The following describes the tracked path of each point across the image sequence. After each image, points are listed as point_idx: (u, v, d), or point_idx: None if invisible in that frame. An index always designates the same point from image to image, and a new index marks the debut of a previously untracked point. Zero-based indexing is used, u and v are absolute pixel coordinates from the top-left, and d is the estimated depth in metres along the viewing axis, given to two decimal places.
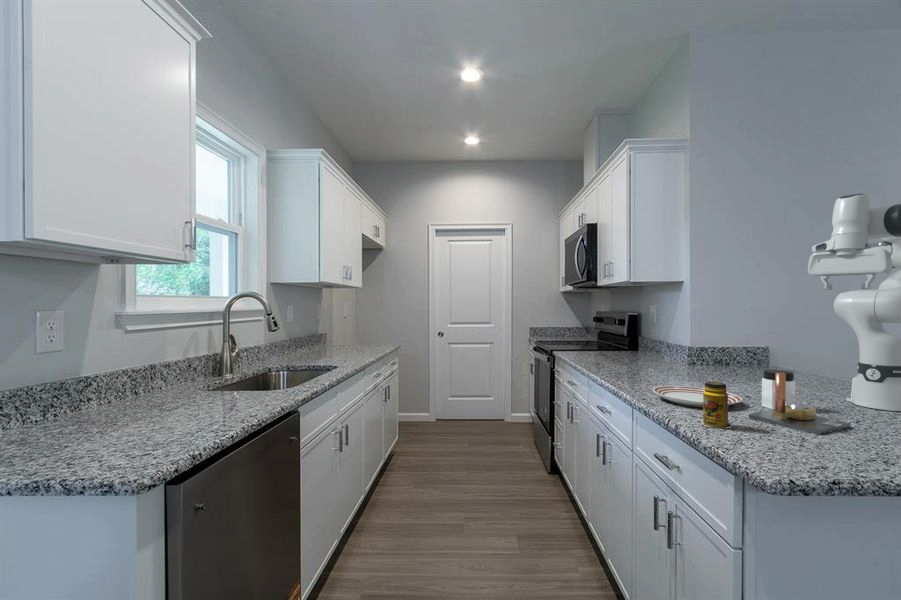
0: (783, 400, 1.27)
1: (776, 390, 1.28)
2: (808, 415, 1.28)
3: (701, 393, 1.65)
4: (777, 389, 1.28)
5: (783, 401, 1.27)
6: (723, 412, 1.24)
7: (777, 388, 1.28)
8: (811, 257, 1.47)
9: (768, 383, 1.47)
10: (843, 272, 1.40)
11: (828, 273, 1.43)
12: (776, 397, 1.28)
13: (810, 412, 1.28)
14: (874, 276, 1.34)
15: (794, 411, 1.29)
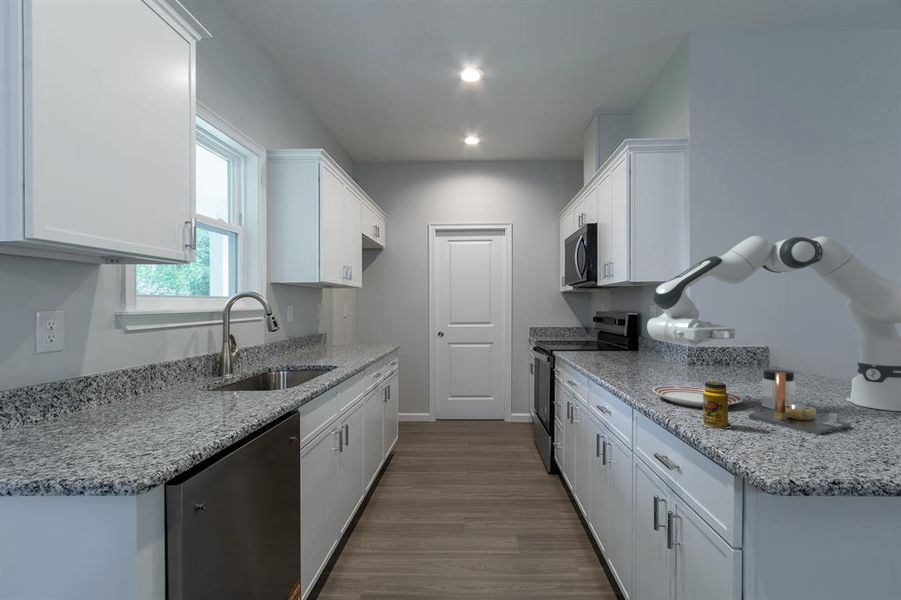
0: (783, 400, 1.27)
1: (776, 390, 1.28)
2: (808, 415, 1.28)
3: (701, 393, 1.65)
4: (777, 389, 1.28)
5: (783, 401, 1.27)
6: (723, 412, 1.24)
7: (777, 388, 1.28)
8: None
9: (768, 383, 1.47)
10: None
11: (724, 338, 1.47)
12: (776, 397, 1.28)
13: (810, 412, 1.28)
14: (714, 333, 1.43)
15: (794, 411, 1.29)
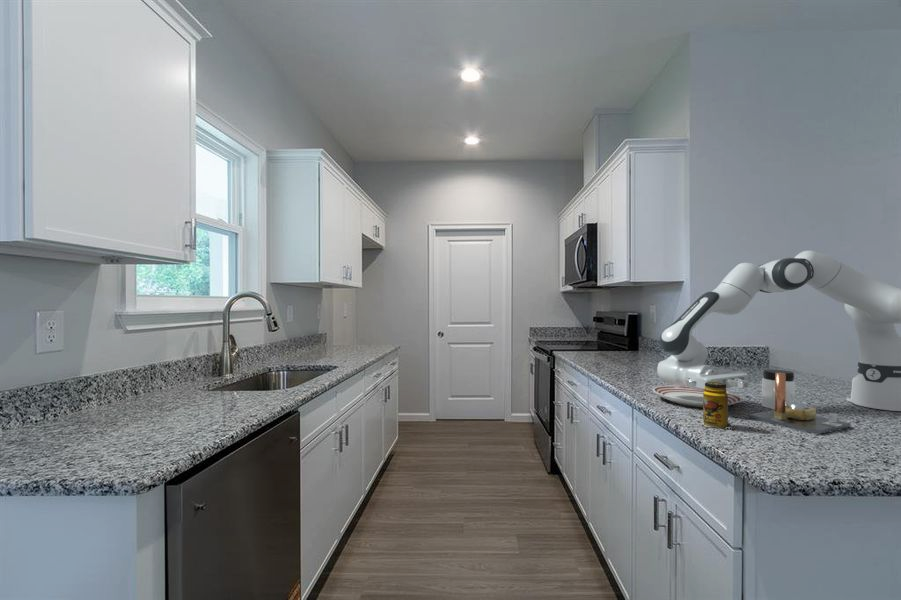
0: (783, 400, 1.27)
1: (776, 390, 1.28)
2: (808, 415, 1.28)
3: (701, 393, 1.65)
4: (777, 389, 1.28)
5: (783, 401, 1.27)
6: (723, 412, 1.24)
7: (777, 388, 1.28)
8: None
9: (768, 383, 1.47)
10: (729, 387, 1.42)
11: None
12: (776, 397, 1.28)
13: (810, 412, 1.28)
14: (728, 382, 1.39)
15: (794, 411, 1.29)
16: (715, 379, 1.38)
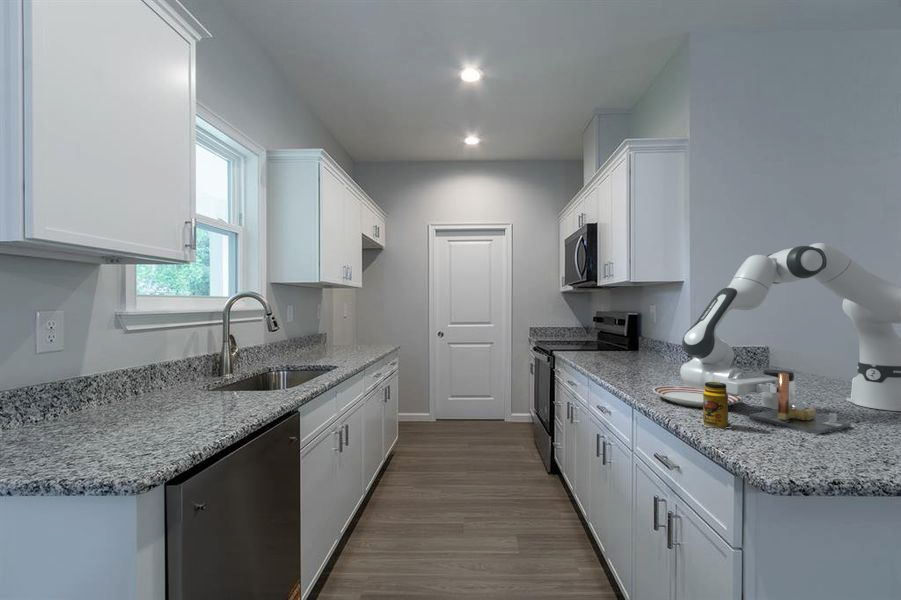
0: (787, 400, 1.26)
1: (780, 391, 1.27)
2: (809, 415, 1.28)
3: (701, 393, 1.65)
4: (781, 390, 1.27)
5: (787, 402, 1.26)
6: (723, 412, 1.24)
7: (781, 389, 1.27)
8: None
9: None
10: (760, 392, 1.33)
11: None
12: (779, 398, 1.27)
13: (811, 412, 1.28)
14: (759, 387, 1.31)
15: (796, 411, 1.29)
16: (746, 383, 1.30)
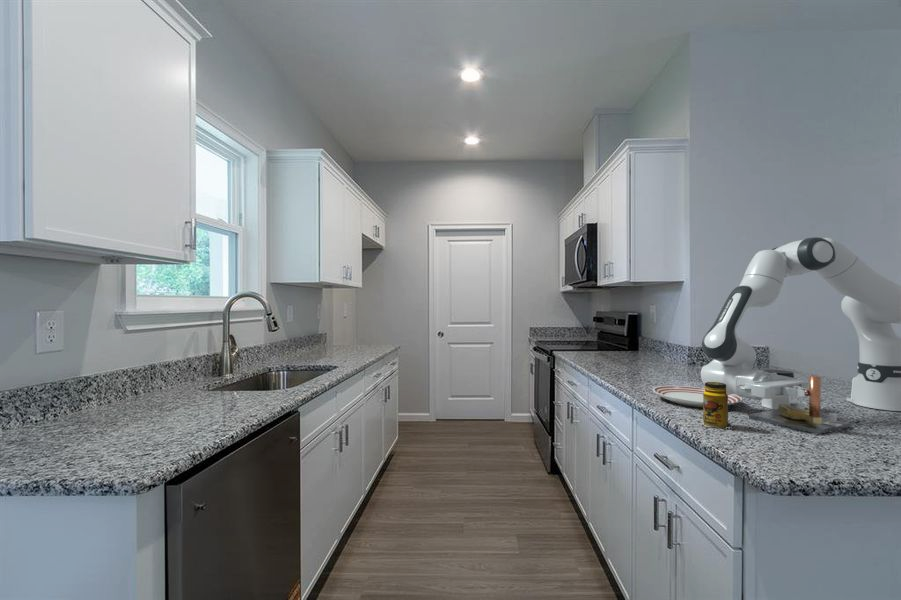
0: None
1: (816, 394, 1.22)
2: None
3: (701, 393, 1.65)
4: (817, 393, 1.22)
5: None
6: (723, 412, 1.24)
7: (817, 392, 1.22)
8: None
9: None
10: (787, 395, 1.29)
11: None
12: (815, 402, 1.22)
13: None
14: (786, 390, 1.26)
15: (809, 412, 1.28)
16: (773, 387, 1.25)
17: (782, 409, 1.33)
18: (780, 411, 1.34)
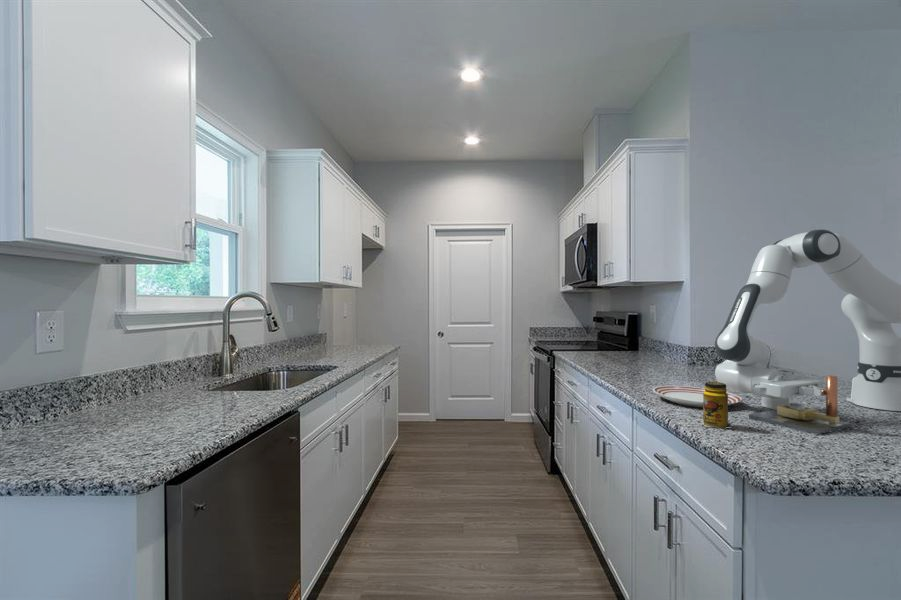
0: None
1: (836, 394, 1.23)
2: None
3: (701, 393, 1.65)
4: (836, 393, 1.23)
5: None
6: (723, 412, 1.24)
7: (836, 392, 1.23)
8: None
9: None
10: None
11: None
12: (835, 401, 1.23)
13: None
14: (802, 389, 1.27)
15: (814, 411, 1.29)
16: (789, 386, 1.26)
17: (789, 411, 1.30)
18: (784, 413, 1.31)
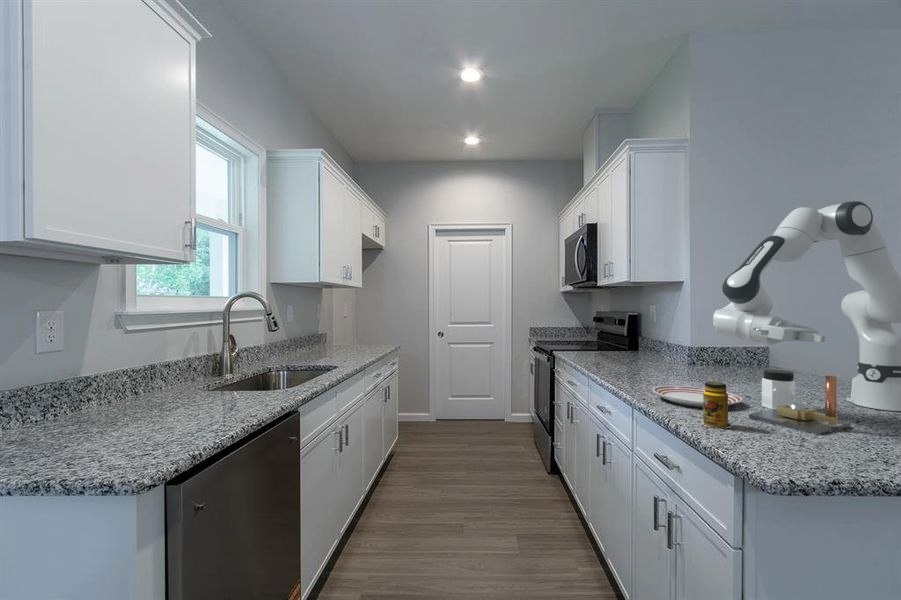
0: None
1: (835, 394, 1.23)
2: None
3: (701, 393, 1.65)
4: (835, 393, 1.23)
5: None
6: (723, 412, 1.24)
7: (835, 392, 1.23)
8: None
9: (768, 383, 1.47)
10: None
11: (807, 341, 1.31)
12: (834, 401, 1.23)
13: None
14: (802, 335, 1.27)
15: (813, 411, 1.29)
16: (792, 330, 1.25)
17: (788, 411, 1.31)
18: (783, 413, 1.32)
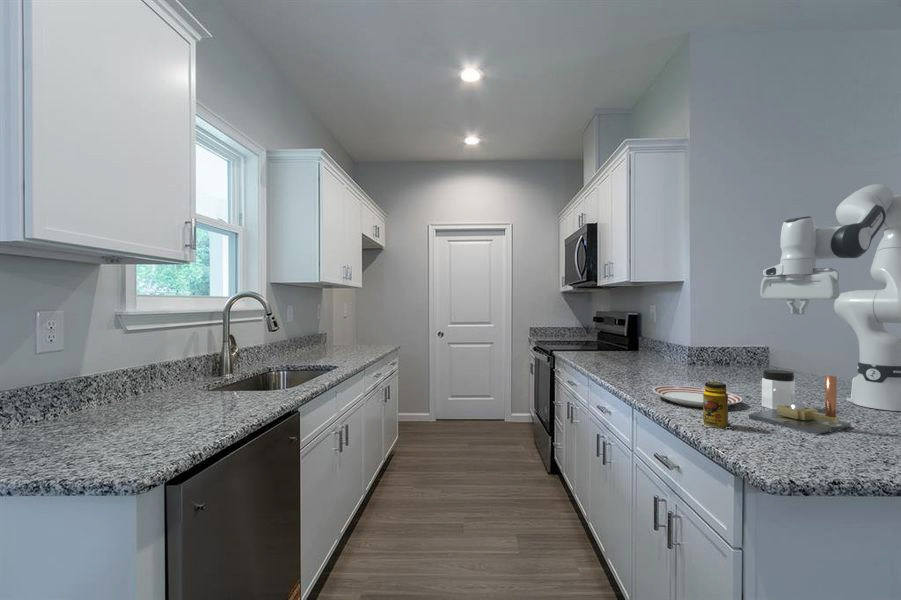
0: None
1: (835, 394, 1.23)
2: None
3: (701, 393, 1.65)
4: (835, 393, 1.23)
5: None
6: (723, 412, 1.24)
7: (835, 392, 1.23)
8: (762, 281, 1.46)
9: (768, 383, 1.47)
10: (793, 297, 1.38)
11: (779, 298, 1.42)
12: (834, 401, 1.23)
13: None
14: (807, 301, 1.37)
15: (813, 411, 1.29)
16: None
17: (788, 411, 1.31)
18: (783, 413, 1.32)
